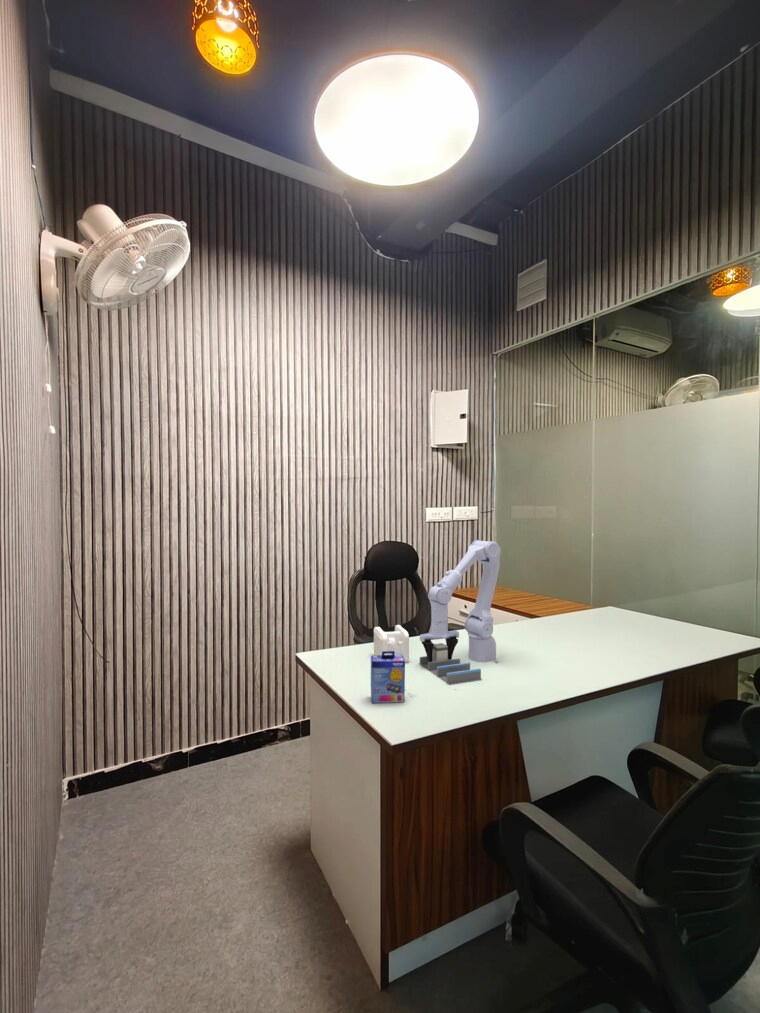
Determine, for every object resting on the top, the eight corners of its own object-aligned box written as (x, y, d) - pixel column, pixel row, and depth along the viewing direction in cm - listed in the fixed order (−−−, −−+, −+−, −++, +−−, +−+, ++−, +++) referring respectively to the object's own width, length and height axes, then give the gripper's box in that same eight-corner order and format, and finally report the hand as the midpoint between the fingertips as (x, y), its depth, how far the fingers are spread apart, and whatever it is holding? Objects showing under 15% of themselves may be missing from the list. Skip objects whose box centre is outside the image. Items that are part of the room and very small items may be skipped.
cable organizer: (410, 666, 161) (410, 633, 161) (381, 668, 159) (381, 635, 159) (398, 653, 176) (398, 623, 176) (372, 655, 173) (372, 625, 173)
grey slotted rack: (448, 662, 165) (448, 650, 166) (482, 683, 145) (482, 670, 145) (418, 666, 161) (418, 654, 161) (449, 688, 141) (449, 674, 141)
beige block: (442, 662, 162) (442, 643, 162) (447, 666, 158) (447, 646, 158) (431, 664, 160) (431, 644, 160) (437, 667, 156) (437, 647, 156)
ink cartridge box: (371, 704, 129) (371, 652, 129) (370, 696, 135) (370, 647, 135) (405, 702, 130) (405, 651, 130) (403, 695, 135) (403, 646, 136)
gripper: (426, 625, 153) (426, 665, 153) (463, 621, 158) (463, 660, 158) (417, 620, 160) (417, 659, 159) (453, 617, 165) (453, 655, 164)
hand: (439, 659), depth 159 cm, fingers open, 7 cm apart
